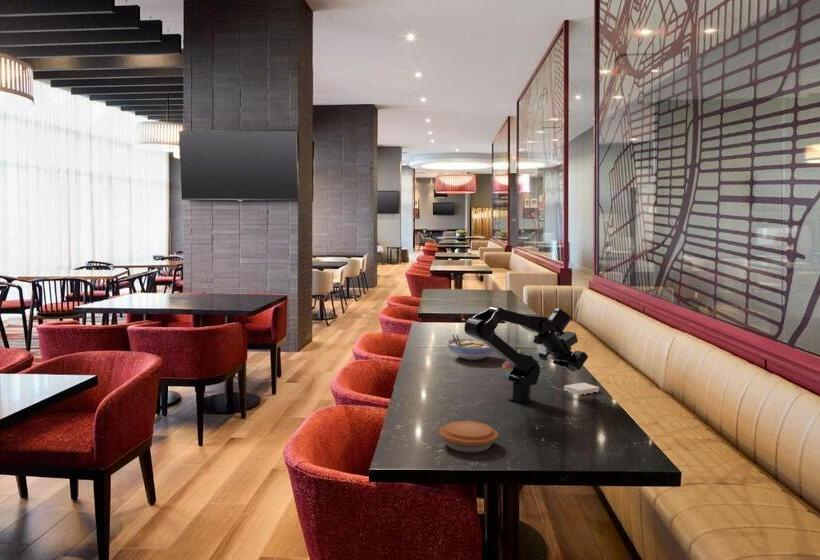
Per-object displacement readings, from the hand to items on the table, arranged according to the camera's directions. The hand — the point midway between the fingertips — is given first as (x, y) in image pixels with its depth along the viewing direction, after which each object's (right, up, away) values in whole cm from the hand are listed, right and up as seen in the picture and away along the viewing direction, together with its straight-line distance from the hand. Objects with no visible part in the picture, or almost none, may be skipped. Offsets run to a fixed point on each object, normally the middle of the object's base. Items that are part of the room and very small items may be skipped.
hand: (573, 370), depth 216 cm
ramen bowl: (-31, -3, +52) cm, 61 cm away
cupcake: (-18, -6, +20) cm, 27 cm away
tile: (-1, -7, 0) cm, 7 cm away
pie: (-42, -12, -54) cm, 70 cm away
